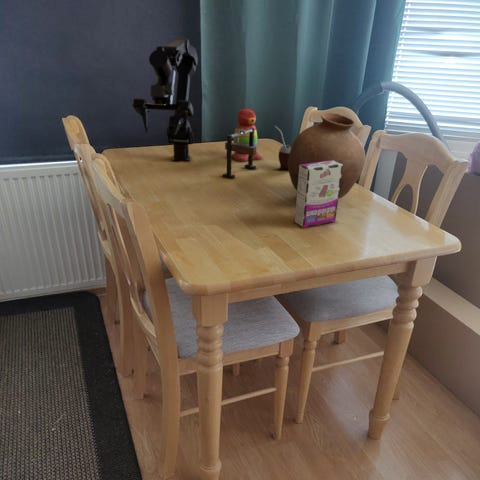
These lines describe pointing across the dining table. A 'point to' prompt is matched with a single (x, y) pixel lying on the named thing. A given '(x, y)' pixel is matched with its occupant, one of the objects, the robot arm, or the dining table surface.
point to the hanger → (242, 146)
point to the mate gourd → (284, 153)
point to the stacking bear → (245, 123)
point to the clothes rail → (229, 152)
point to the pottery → (329, 149)
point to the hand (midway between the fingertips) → (160, 133)
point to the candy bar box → (317, 193)
